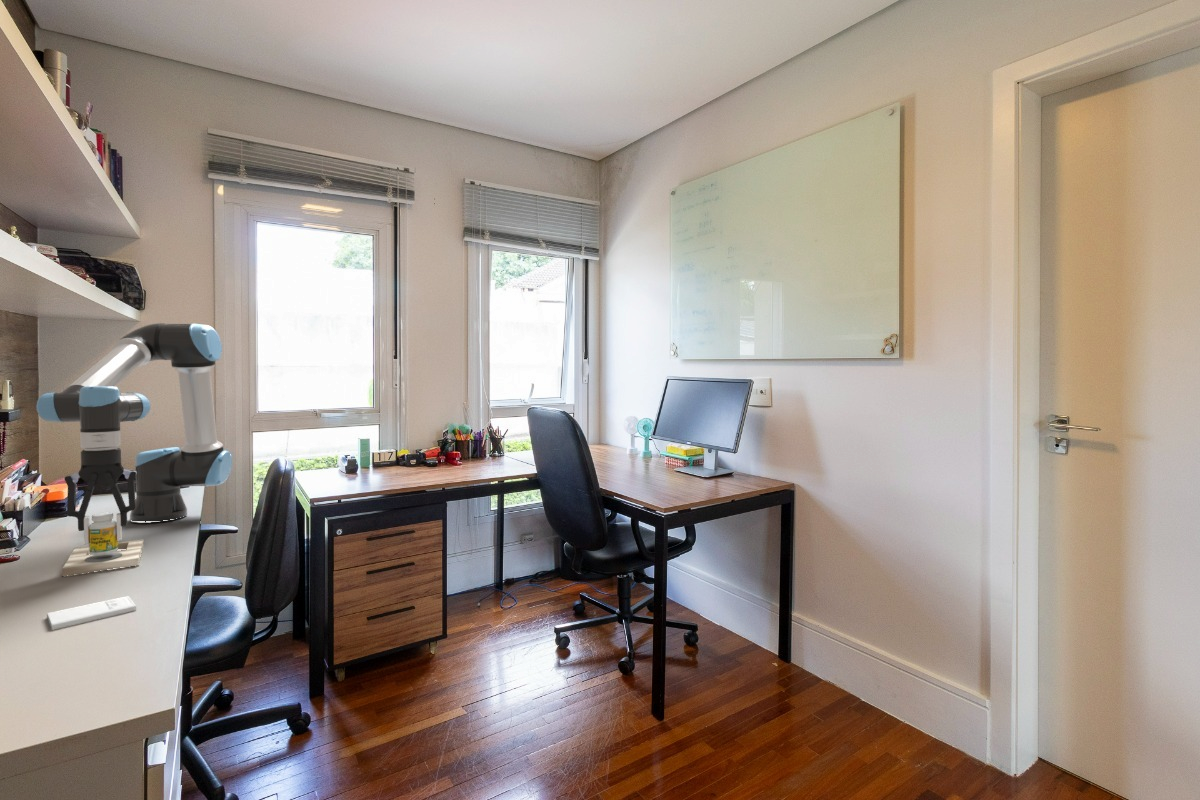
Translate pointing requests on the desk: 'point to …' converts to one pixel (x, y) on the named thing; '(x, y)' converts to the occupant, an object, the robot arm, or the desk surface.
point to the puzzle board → (103, 559)
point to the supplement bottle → (103, 534)
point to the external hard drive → (90, 612)
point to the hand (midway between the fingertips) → (103, 541)
